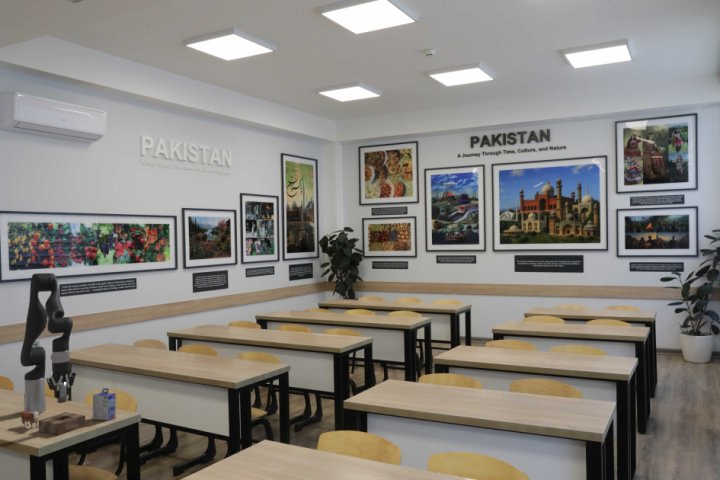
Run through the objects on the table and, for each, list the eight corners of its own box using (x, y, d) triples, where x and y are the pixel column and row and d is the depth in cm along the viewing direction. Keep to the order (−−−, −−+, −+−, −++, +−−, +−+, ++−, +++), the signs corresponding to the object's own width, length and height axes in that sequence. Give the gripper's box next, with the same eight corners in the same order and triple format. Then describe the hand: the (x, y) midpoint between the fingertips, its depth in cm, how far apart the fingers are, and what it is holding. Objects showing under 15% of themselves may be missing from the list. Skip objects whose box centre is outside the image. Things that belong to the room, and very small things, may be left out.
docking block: (38, 431, 265) (38, 420, 265) (66, 422, 277) (66, 412, 277) (58, 435, 258) (57, 424, 258) (85, 426, 271) (85, 415, 271)
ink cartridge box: (116, 417, 283) (116, 388, 283) (108, 421, 278) (107, 391, 278) (100, 416, 286) (100, 387, 286) (92, 419, 281) (91, 390, 281)
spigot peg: (55, 402, 267) (54, 383, 267) (63, 400, 270) (62, 381, 270) (60, 403, 265) (60, 383, 265) (68, 401, 268) (68, 381, 268)
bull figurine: (34, 431, 265) (34, 413, 265) (19, 426, 272) (18, 409, 272) (43, 428, 269) (43, 410, 269) (28, 423, 276) (28, 407, 276)
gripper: (69, 356, 276) (70, 392, 276) (41, 362, 263) (42, 400, 263) (79, 358, 272) (80, 394, 272) (51, 364, 260) (52, 401, 260)
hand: (61, 396), depth 268 cm, fingers closed on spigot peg, 4 cm apart
